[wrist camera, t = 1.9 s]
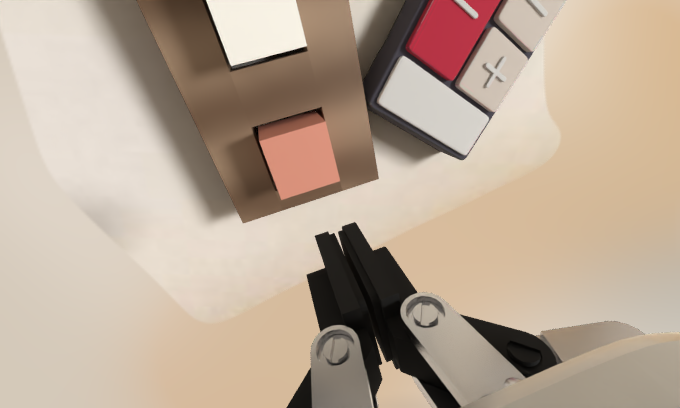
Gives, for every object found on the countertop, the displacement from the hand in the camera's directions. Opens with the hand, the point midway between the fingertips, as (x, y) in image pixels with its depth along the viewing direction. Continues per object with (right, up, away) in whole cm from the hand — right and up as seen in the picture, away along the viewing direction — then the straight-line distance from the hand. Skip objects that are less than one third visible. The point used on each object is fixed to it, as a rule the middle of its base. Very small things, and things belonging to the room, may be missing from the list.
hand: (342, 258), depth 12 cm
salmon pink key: (-4, +7, +12) cm, 14 cm away
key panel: (-5, +11, +11) cm, 17 cm away
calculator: (+9, +16, +14) cm, 23 cm away
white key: (-6, +14, +7) cm, 17 cm away
